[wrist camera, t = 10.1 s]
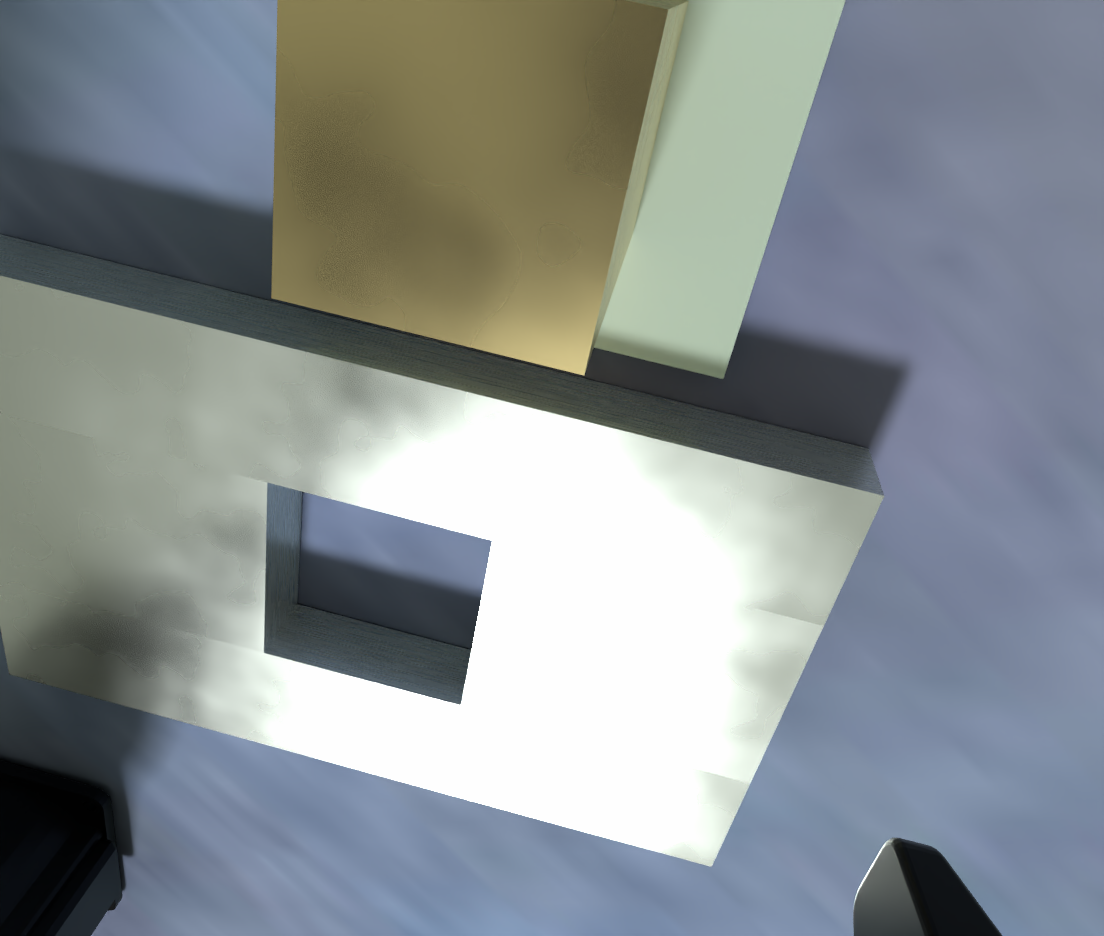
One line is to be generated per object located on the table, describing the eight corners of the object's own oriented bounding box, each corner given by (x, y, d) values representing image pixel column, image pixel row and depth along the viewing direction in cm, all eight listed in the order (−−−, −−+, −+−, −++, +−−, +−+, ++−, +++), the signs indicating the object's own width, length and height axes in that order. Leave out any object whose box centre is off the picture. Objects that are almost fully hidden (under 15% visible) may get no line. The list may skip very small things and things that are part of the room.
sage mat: (316, 268, 18) (305, 276, 18) (343, -260, 14) (327, -271, 13) (723, 367, 18) (723, 379, 18) (887, -146, 13) (893, -151, 13)
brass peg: (432, 186, 17) (271, 297, 11) (460, -51, 15) (278, -79, 9) (633, 234, 16) (584, 375, 10) (688, 0, 14) (668, 9, 8)
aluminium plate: (57, 628, 25) (9, 674, 24) (-1, 234, 19) (-71, 257, 18) (711, 804, 24) (711, 866, 23) (868, 448, 18) (884, 496, 17)
